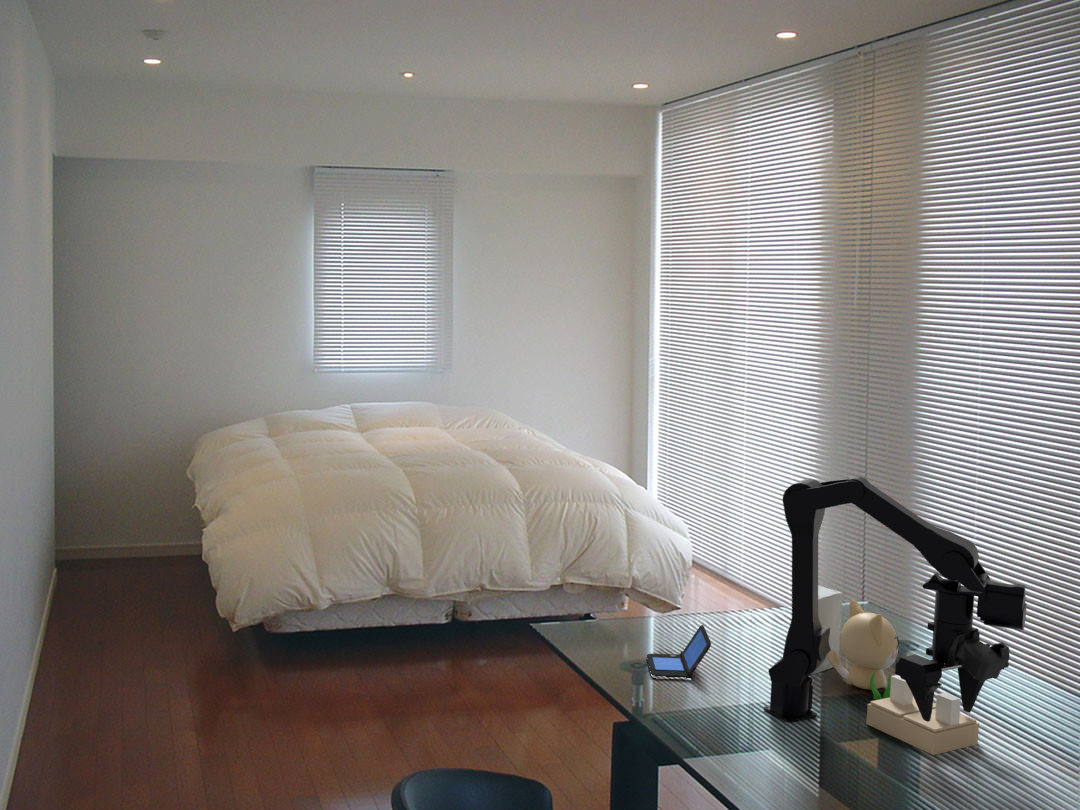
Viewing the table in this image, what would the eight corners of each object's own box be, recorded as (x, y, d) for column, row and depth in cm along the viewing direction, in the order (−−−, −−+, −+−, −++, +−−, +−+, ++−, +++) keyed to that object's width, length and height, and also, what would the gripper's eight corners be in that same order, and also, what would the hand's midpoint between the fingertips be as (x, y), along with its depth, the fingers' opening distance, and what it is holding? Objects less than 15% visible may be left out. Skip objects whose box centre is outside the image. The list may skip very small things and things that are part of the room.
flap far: (899, 716, 179) (901, 690, 179) (870, 703, 185) (871, 677, 184) (941, 707, 184) (942, 681, 183) (910, 695, 189) (912, 670, 189)
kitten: (915, 701, 197) (920, 617, 195) (863, 704, 195) (867, 619, 193) (872, 673, 211) (876, 595, 210) (823, 675, 209) (827, 596, 208)
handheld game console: (645, 659, 217) (647, 621, 216) (701, 660, 216) (703, 623, 216) (650, 680, 204) (652, 641, 203) (710, 682, 204) (712, 643, 203)
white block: (934, 732, 173) (936, 704, 172) (902, 718, 178) (904, 691, 178) (976, 722, 177) (978, 695, 177) (943, 709, 183) (945, 683, 183)
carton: (933, 755, 173) (934, 733, 172) (866, 723, 185) (867, 703, 185) (977, 744, 178) (979, 722, 177) (909, 714, 190) (910, 694, 190)
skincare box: (814, 659, 219) (818, 584, 217) (840, 667, 214) (844, 591, 213) (787, 667, 213) (791, 590, 212) (813, 675, 209) (817, 597, 207)
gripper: (953, 641, 164) (946, 744, 165) (1037, 626, 173) (1030, 724, 174) (895, 621, 173) (889, 718, 175) (977, 608, 182) (971, 701, 184)
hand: (946, 716), depth 177 cm, fingers open, 9 cm apart
